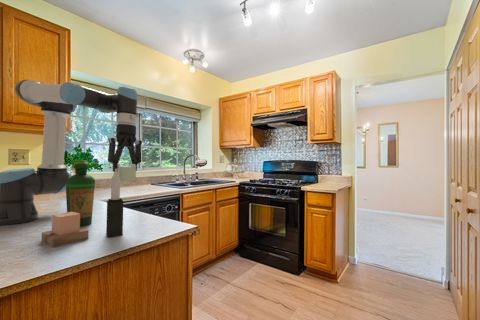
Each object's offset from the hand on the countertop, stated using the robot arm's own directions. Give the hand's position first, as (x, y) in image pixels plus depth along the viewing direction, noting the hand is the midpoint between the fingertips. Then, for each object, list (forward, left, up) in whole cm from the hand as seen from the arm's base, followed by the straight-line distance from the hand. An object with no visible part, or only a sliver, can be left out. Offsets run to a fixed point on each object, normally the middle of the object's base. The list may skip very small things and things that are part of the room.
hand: (124, 179), depth 94 cm
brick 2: (0, 0, 0) cm, 0 cm away
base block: (-2, -20, -20) cm, 28 cm away
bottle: (-19, -8, -20) cm, 29 cm away
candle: (+6, -7, -20) cm, 23 cm away
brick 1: (-2, -20, -17) cm, 26 cm away
